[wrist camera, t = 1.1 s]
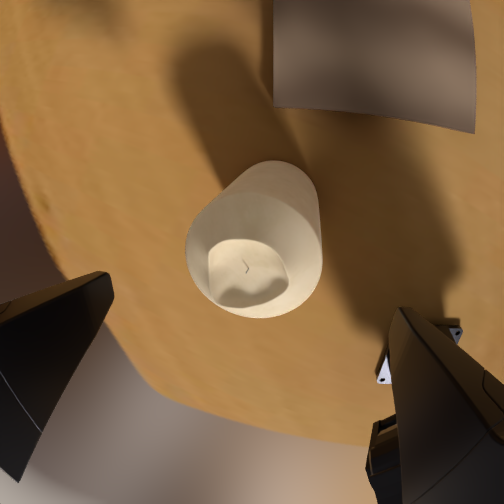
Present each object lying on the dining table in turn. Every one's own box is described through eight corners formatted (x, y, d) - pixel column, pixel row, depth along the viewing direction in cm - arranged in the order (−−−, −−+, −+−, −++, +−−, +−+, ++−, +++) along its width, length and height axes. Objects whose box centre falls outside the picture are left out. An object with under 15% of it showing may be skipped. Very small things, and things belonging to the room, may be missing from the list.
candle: (269, 256, 22) (239, 358, 13) (216, 195, 20) (144, 264, 11) (335, 209, 19) (354, 295, 10) (280, 141, 18) (251, 168, 9)
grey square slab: (460, 131, 15) (474, 134, 14) (276, 107, 17) (273, 107, 15) (451, -26, 10) (462, -36, 8) (275, -53, 12) (272, -67, 10)
